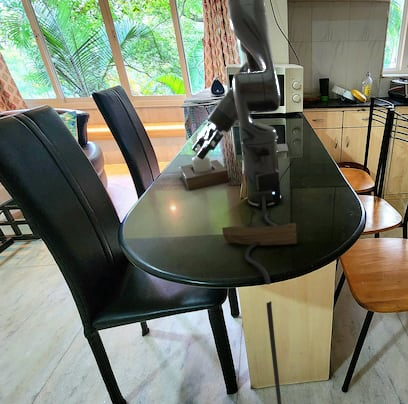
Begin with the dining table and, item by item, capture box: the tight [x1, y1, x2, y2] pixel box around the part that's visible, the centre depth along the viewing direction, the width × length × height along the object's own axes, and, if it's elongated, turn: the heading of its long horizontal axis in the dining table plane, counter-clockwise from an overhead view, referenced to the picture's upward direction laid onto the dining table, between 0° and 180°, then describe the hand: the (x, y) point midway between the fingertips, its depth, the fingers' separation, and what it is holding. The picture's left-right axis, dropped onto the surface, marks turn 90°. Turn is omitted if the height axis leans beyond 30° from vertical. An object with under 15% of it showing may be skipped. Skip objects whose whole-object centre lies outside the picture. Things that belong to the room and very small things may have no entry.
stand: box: [179, 159, 230, 191], centre depth 96 cm, size 13×13×4 cm
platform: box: [276, 135, 290, 153], centre depth 126 cm, size 12×18×7 cm, turn 96°
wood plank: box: [221, 222, 298, 246], centre depth 60 cm, size 15×2×5 cm, turn 91°
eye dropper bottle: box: [191, 145, 212, 173], centre depth 94 cm, size 4×6×12 cm
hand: (196, 154), depth 92 cm, fingers open, 8 cm apart
